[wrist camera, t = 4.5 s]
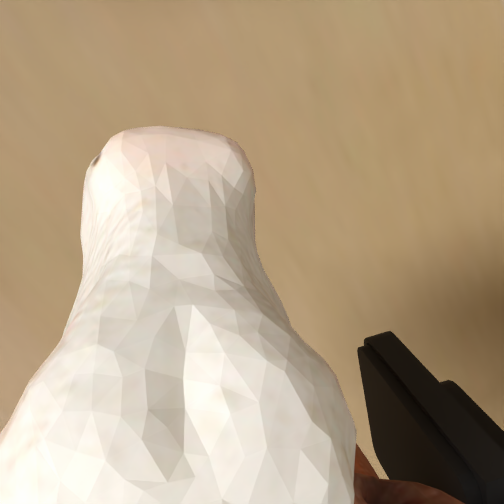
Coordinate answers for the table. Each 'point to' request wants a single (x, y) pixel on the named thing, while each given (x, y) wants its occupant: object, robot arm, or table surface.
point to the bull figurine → (183, 354)
